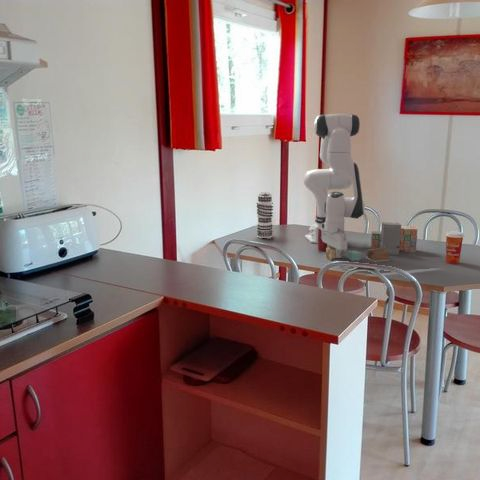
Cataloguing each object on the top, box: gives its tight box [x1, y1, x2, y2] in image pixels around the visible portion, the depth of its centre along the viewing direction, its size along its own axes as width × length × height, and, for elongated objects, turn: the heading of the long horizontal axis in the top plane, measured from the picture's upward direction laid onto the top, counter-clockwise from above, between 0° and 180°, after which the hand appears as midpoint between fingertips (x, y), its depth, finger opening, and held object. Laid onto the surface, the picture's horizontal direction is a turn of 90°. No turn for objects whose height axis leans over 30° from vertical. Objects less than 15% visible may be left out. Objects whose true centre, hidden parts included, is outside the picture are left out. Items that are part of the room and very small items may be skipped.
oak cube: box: [325, 247, 343, 261], centre depth 253 cm, size 6×6×5 cm
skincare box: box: [380, 221, 402, 256], centre depth 258 cm, size 8×7×16 cm
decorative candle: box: [256, 191, 274, 239], centre depth 297 cm, size 9×9×25 cm
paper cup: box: [445, 230, 465, 265], centre depth 244 cm, size 8×8×14 cm
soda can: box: [317, 227, 328, 253], centre depth 266 cm, size 7×7×12 cm
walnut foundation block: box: [366, 248, 389, 262], centre depth 248 cm, size 7×7×4 cm
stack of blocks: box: [370, 225, 418, 254], centre depth 266 cm, size 21×6×12 cm, turn 80°
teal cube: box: [346, 250, 362, 262], centre depth 249 cm, size 4×4×4 cm
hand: (333, 255), depth 253 cm, fingers closed on oak cube, 5 cm apart
